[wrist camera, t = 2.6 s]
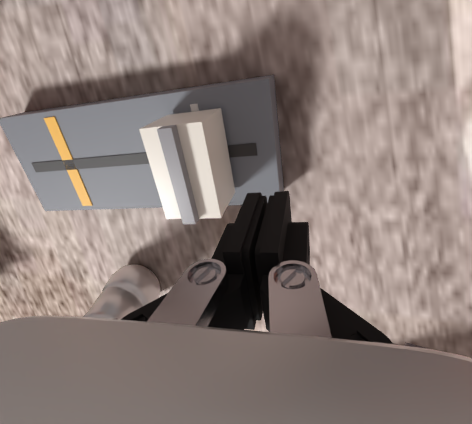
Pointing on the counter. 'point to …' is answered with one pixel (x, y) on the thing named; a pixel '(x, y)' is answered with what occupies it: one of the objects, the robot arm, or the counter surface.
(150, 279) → the plastic bottle
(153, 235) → the counter surface
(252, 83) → the console board
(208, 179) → the fader cap
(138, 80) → the counter surface
